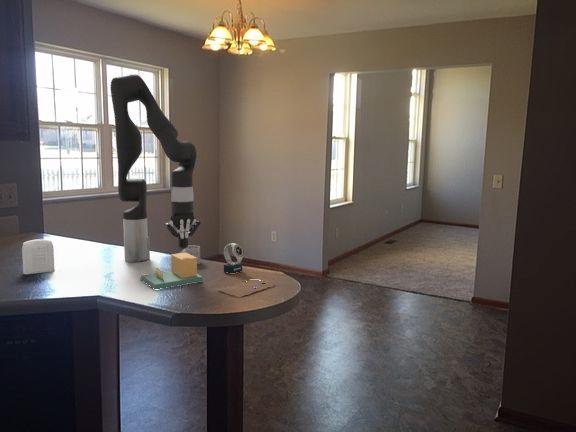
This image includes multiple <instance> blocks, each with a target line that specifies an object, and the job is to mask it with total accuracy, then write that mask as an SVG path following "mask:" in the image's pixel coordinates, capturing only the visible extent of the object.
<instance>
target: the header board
mask: <svg viewBox="0 0 576 432" xmlns="http://www.w3.org/2000/svg"><path fill="white" fill-rule="evenodd" d="M143 281H144V282H145V283H144V282H143ZM198 281H202V282H203V275H200V274H199V273H197V276H192V277H186V278H181V277H179V276H177V275H176V274H174V273H172V271H171V270H168V271H167V270H166V271H164V270H162V269H161V268H159V267H156V268H155V273H147V274H141V282H143V283H144V284H146V283H147V284H148V285H150V286H151V287H152V288H151V287H150V286H149V287H150V288H151V289H153V288H154V289H160V288H166V287H171V286H177V285H182V284H187V283H192V282H198ZM147 284H146V285H147ZM148 285H147V286H148ZM154 289H153V290H154ZM166 289H167V288H166Z"/></svg>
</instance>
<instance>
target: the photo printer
mask: <svg viewBox="0 0 576 432" xmlns="http://www.w3.org/2000/svg"><path fill="white" fill-rule="evenodd" d="M21 253H22V255H21V256H22V271H23V272H22V273H23V274H24V275H33V274H42V273H43V274H44V273H51V272H52V273H53V272H55V252H54V244H53V241H52V240H50V239H44V238H38V239H31V240H27V241H24V242H23V243H22V247H21Z"/></svg>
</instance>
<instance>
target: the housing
mask: <svg viewBox="0 0 576 432" xmlns="http://www.w3.org/2000/svg"><path fill="white" fill-rule="evenodd" d="M170 256H171V257H170V260H171V263H170V264H171V265H170V266H171V270H170V271H172V273H174V274H176V275H177V276H179V277H181V278H186V277H192V276H197V274H198V265H197V258H196V257H194V256H192V255H190V254H188V253H180V252H179V253H178V252H177V253H172V254H170Z"/></svg>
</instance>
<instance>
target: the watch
mask: <svg viewBox="0 0 576 432" xmlns="http://www.w3.org/2000/svg"><path fill="white" fill-rule="evenodd" d="M230 246H231V249H232V250H231V252H232V254H233V256H234V257H235V259H236V262H235V261H233V260H232V257H231V256H230V252H229V247H230ZM244 254H245V251H244V248H243V247H242V246H241V245H240V244H238V243H235V242H232V243H228V244H226V245H225V246H224V248H223V257H224V260H225V261H226V264H225V263H224V264H223V273H224V272H228V273H236V272H239V273H241V272H240V271H242V272H243V263H242V260H243V258H244ZM236 274H237V273H236Z"/></svg>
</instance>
